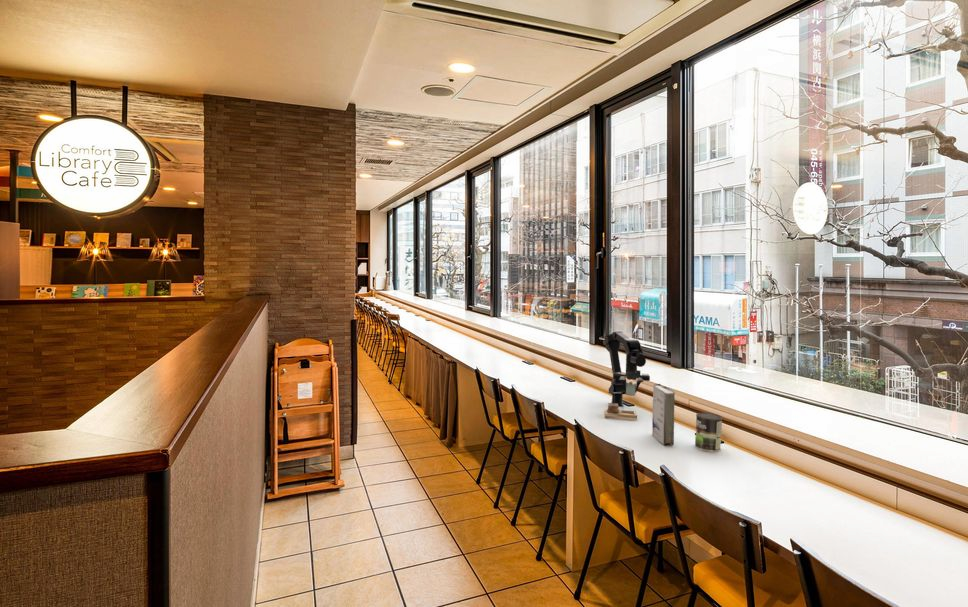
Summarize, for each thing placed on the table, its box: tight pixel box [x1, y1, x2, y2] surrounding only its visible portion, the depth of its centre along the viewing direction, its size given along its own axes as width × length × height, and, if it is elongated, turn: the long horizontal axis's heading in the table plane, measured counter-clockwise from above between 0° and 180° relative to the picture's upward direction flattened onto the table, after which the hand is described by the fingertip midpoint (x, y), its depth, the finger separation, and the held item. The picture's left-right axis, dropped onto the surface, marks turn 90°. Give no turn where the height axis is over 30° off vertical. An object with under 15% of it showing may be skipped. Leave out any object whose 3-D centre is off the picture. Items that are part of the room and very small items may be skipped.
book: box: [651, 383, 676, 446], centre depth 228 cm, size 16×6×24 cm, turn 178°
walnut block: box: [607, 402, 619, 414], centre depth 265 cm, size 5×5×5 cm
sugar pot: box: [625, 381, 637, 397], centre depth 272 cm, size 5×5×7 cm
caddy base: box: [603, 408, 638, 421], centre depth 264 cm, size 9×16×2 cm, turn 78°
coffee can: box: [694, 412, 723, 453], centre depth 219 cm, size 10×10×14 cm
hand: (630, 392), depth 272 cm, fingers closed on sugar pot, 5 cm apart
